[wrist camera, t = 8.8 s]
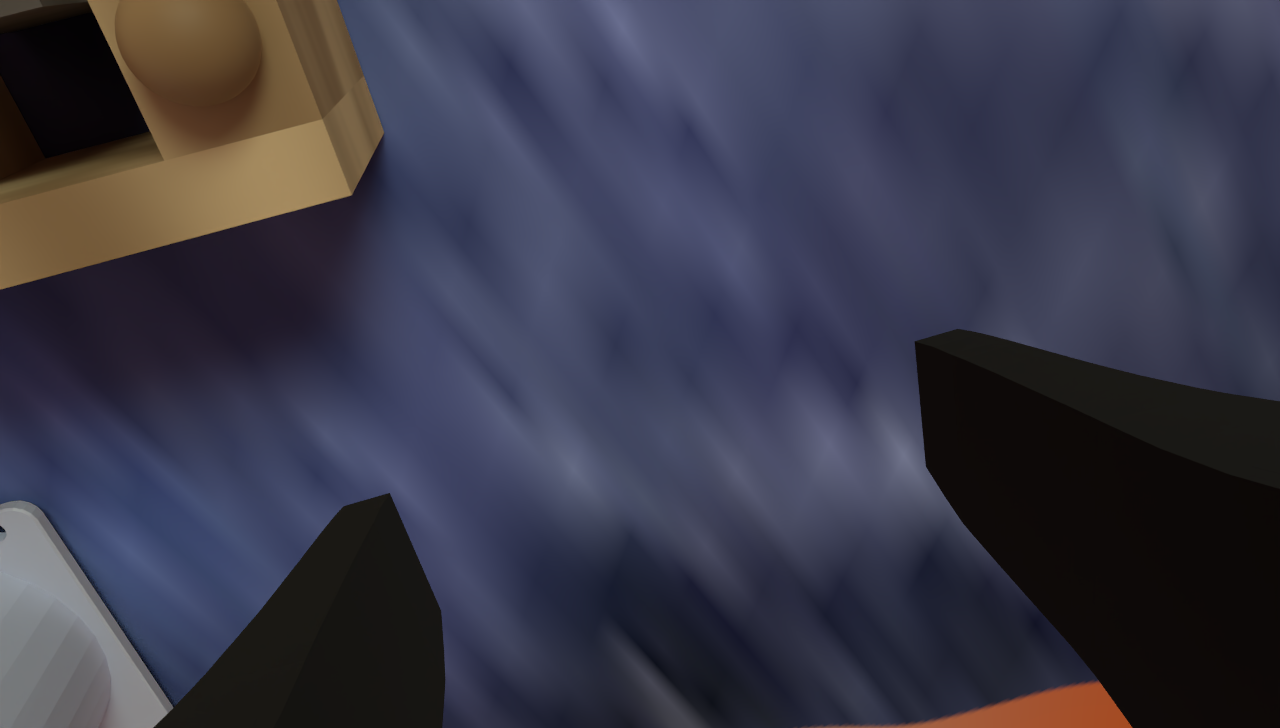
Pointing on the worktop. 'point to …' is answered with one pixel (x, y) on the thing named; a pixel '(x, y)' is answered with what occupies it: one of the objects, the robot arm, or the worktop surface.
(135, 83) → the bracket
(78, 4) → the beige block
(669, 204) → the worktop surface
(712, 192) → the worktop surface
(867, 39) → the worktop surface
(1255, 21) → the worktop surface
